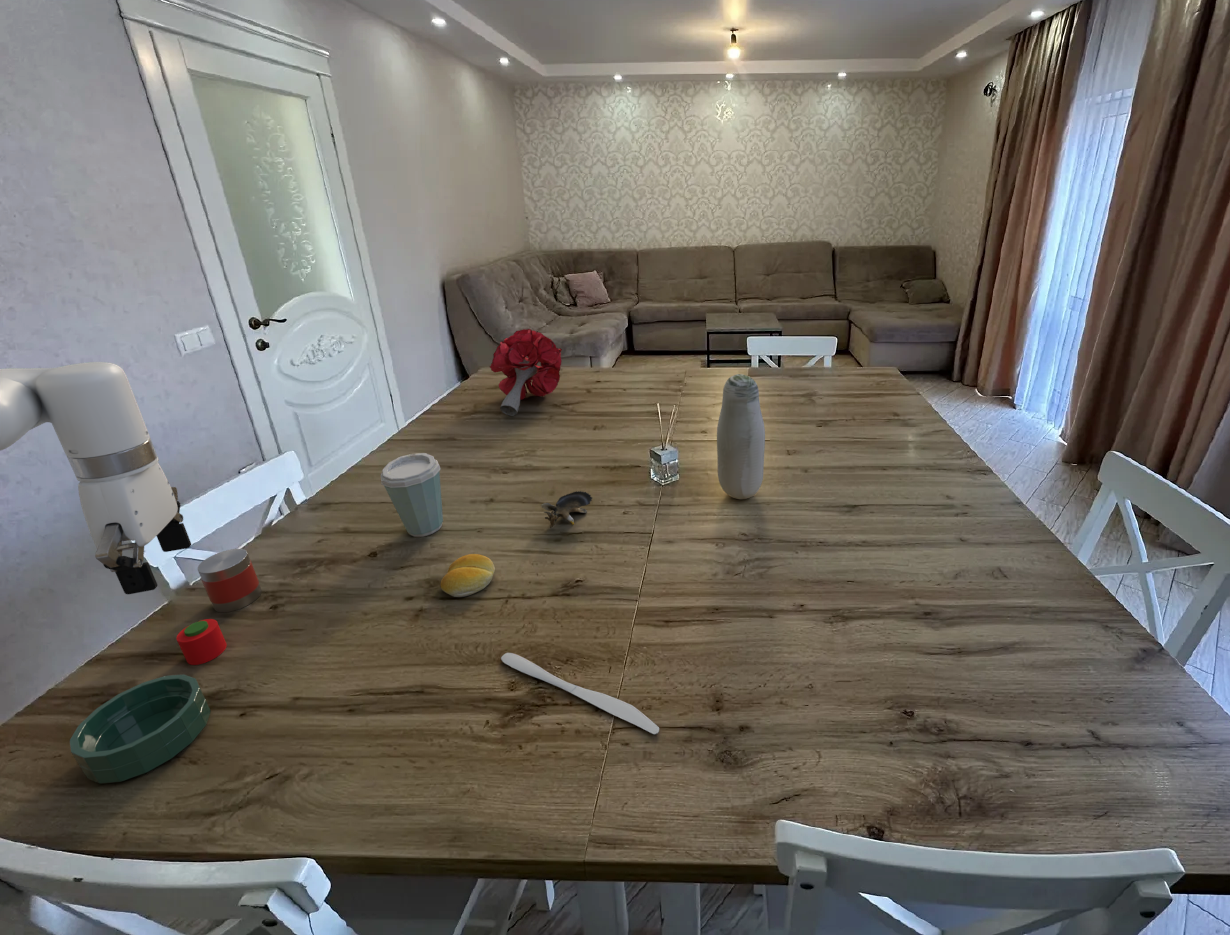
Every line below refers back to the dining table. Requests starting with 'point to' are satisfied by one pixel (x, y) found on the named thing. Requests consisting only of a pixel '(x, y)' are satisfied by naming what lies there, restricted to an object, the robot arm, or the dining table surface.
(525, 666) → the butter knife
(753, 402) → the white bottle
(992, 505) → the dining table surface
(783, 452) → the dining table surface
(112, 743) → the bowl
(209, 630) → the red short cylinder
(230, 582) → the can
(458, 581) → the bread roll
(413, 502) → the disposable coffee cup
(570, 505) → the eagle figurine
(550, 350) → the bouquet
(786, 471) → the dining table surface
